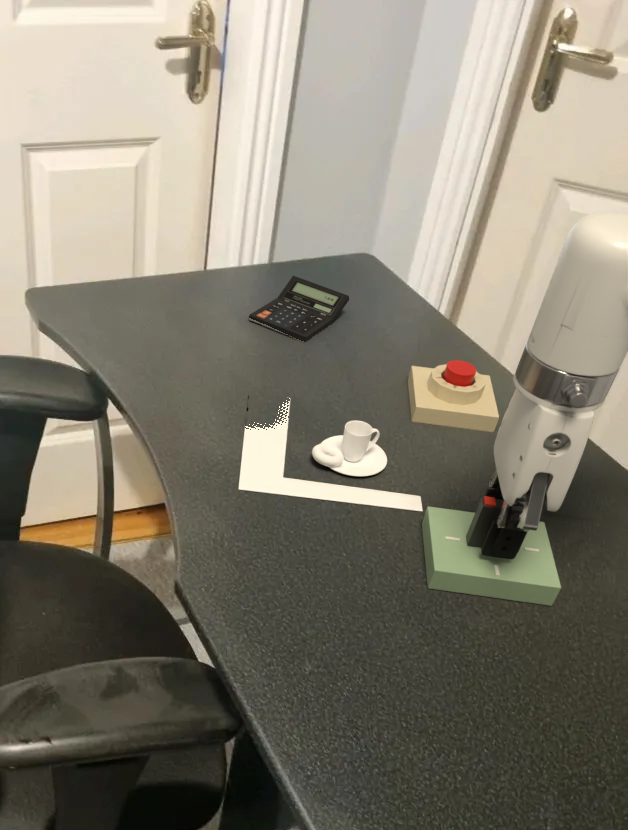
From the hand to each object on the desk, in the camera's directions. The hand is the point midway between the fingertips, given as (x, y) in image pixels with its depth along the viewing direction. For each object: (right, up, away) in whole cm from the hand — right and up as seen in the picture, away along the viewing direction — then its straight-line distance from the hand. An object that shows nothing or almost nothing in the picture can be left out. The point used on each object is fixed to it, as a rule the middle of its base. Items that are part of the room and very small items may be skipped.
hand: (494, 538), depth 84 cm
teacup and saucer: (-14, +12, +16) cm, 24 cm away
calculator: (-14, +34, +39) cm, 53 cm away
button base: (+3, +19, +24) cm, 30 cm away
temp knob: (0, -1, +1) cm, 1 cm away
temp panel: (0, -2, +2) cm, 3 cm away
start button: (+3, +21, +21) cm, 30 cm away
